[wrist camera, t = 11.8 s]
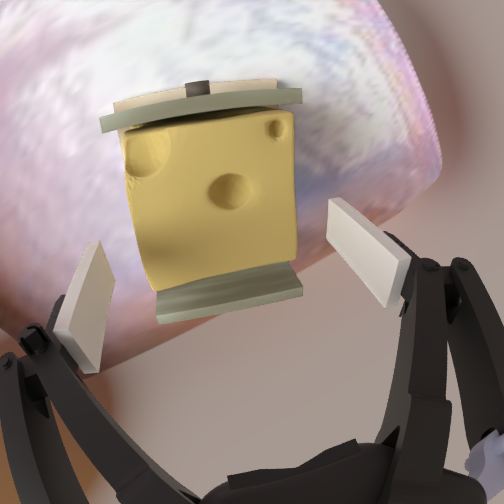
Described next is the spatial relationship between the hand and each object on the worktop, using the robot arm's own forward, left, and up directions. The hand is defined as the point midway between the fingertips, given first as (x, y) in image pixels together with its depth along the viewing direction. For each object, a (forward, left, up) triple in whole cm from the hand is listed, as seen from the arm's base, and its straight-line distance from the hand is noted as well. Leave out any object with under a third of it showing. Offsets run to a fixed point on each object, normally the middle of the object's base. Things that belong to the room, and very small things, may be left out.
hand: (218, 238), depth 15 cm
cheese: (-1, 0, -11) cm, 11 cm away
